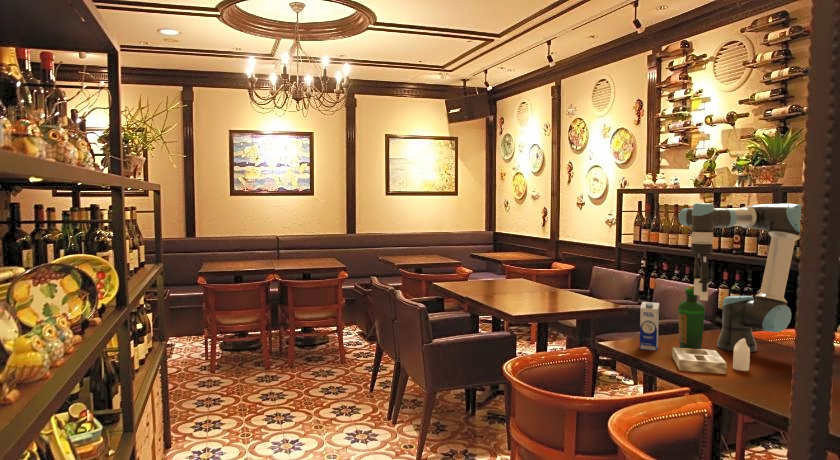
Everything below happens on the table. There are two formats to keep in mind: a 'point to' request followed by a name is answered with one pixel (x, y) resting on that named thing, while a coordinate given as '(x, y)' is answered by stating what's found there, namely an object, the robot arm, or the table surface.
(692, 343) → the bottle
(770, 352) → the table surface
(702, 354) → the socket board
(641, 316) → the milk carton
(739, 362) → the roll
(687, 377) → the table surface
